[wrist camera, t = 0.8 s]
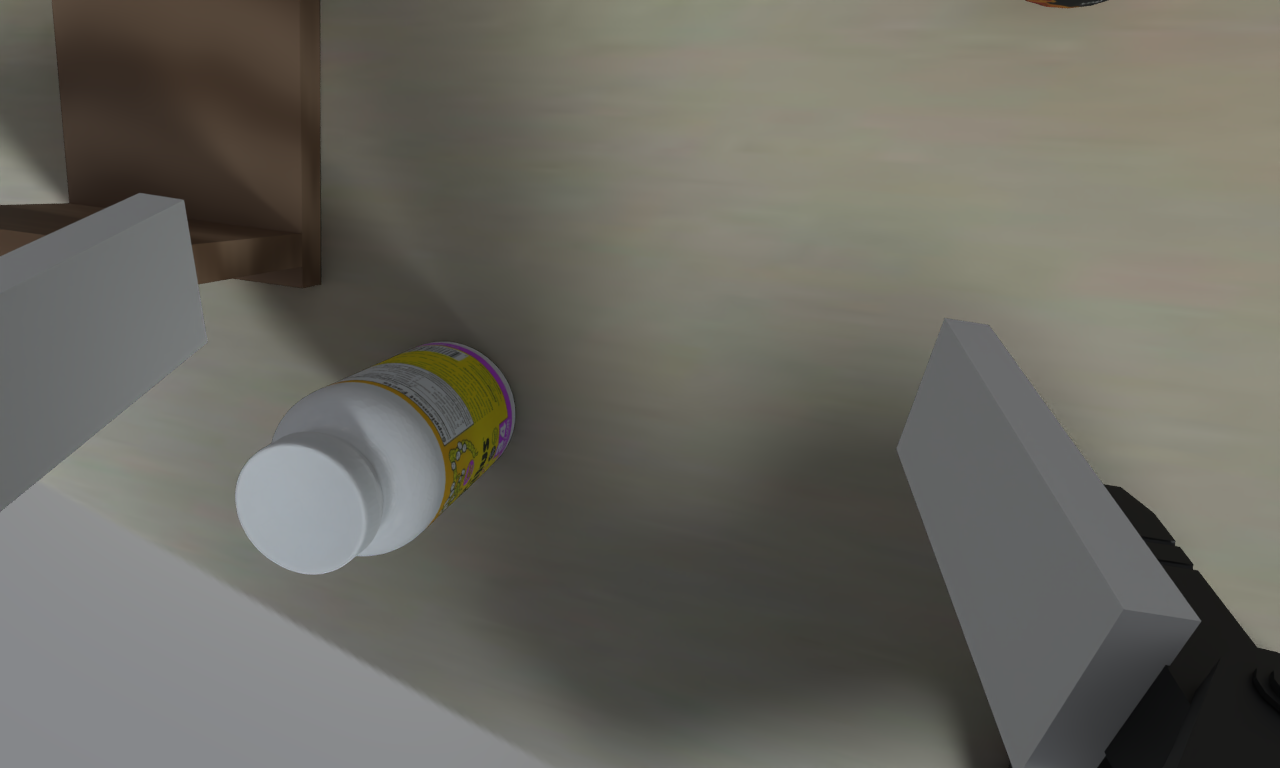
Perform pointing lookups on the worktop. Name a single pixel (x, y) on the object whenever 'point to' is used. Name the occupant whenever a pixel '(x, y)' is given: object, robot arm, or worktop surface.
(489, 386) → the supplement bottle
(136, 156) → the holder
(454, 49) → the worktop surface
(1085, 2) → the canned food
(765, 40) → the worktop surface
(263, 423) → the worktop surface
